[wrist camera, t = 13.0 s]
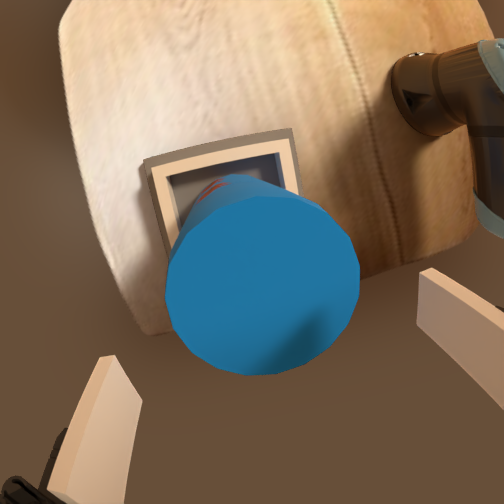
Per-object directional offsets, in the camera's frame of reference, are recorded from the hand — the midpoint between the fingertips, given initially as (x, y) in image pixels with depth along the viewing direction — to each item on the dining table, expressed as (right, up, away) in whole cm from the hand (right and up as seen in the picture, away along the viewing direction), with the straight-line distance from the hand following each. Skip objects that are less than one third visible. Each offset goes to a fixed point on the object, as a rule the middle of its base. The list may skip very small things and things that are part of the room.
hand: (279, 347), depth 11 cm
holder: (-4, +9, +29) cm, 31 cm away
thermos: (-3, +9, +28) cm, 29 cm away
